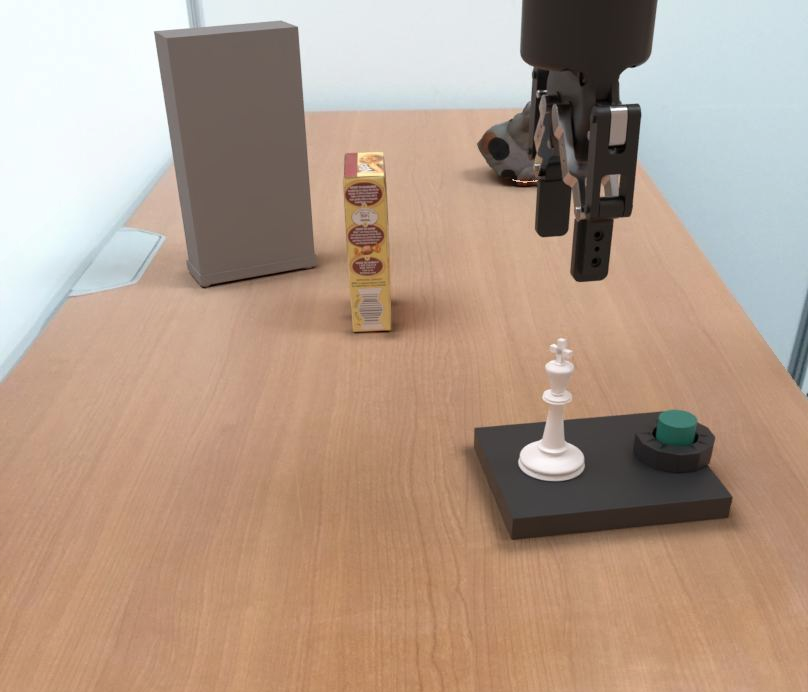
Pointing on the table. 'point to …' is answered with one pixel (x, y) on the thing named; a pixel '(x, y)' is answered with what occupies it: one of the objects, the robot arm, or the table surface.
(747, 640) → the table surface
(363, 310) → the candy box
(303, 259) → the gray rectangular block
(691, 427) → the button
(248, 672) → the table surface
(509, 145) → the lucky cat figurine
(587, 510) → the scale
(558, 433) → the chess piece
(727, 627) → the table surface
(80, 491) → the table surface
